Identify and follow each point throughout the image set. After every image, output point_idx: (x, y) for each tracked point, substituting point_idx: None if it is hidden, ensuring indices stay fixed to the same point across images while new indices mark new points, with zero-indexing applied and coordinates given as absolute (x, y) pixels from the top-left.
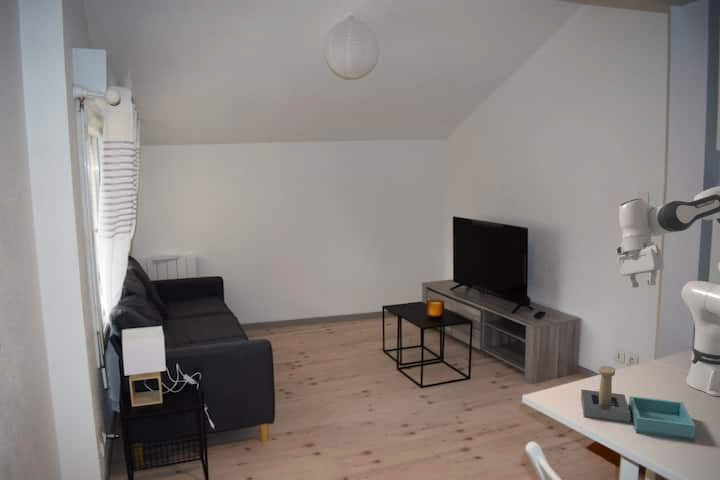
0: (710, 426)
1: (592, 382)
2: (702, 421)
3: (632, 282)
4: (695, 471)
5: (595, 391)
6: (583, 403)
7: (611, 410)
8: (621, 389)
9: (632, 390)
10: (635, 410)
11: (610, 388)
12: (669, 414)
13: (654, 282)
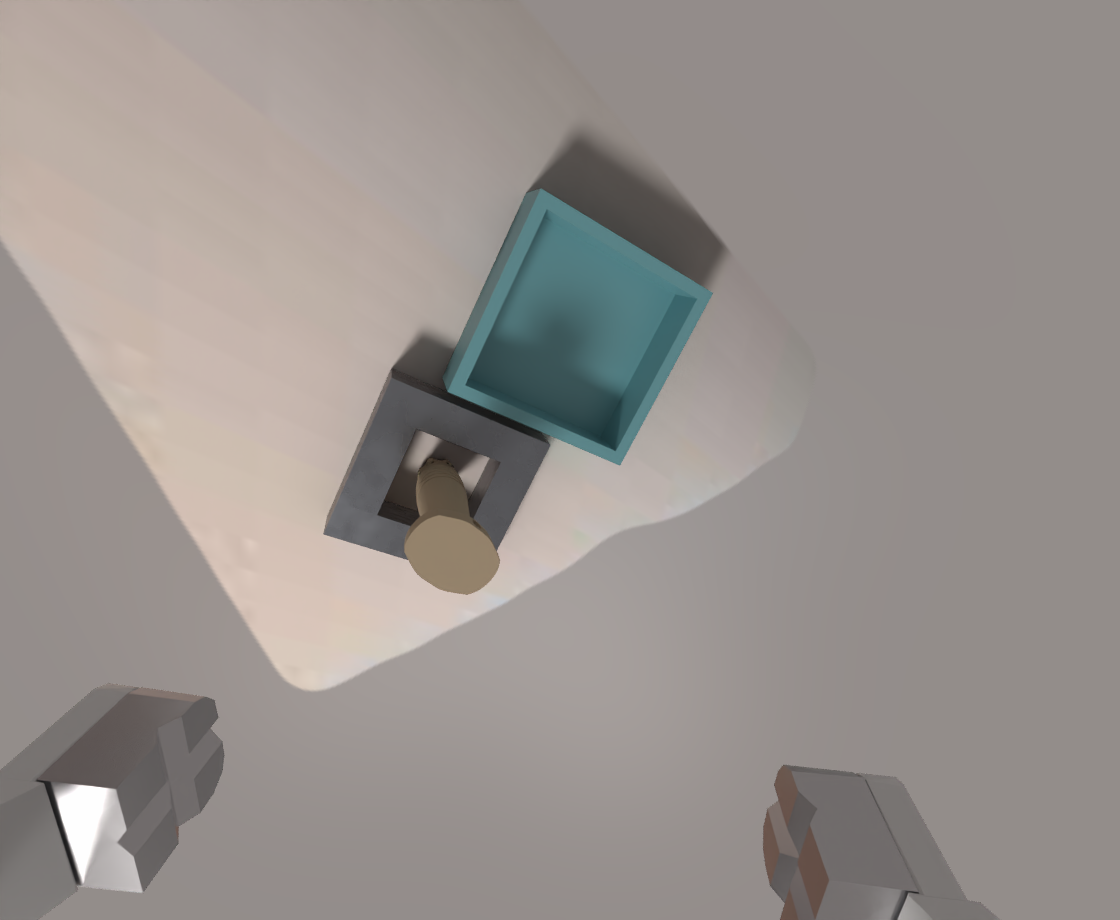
0: (618, 133)
1: (143, 389)
2: (578, 132)
3: (74, 882)
4: (800, 402)
5: (349, 486)
6: None
7: (518, 500)
8: (235, 289)
9: (249, 238)
10: (568, 439)
11: (467, 505)
12: (528, 252)
13: (912, 840)
